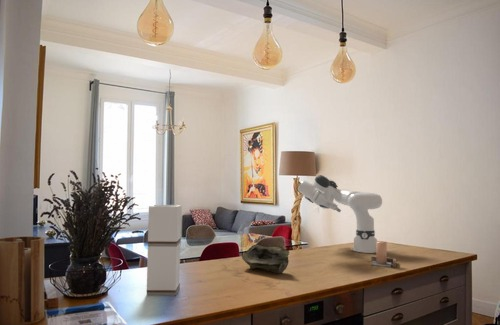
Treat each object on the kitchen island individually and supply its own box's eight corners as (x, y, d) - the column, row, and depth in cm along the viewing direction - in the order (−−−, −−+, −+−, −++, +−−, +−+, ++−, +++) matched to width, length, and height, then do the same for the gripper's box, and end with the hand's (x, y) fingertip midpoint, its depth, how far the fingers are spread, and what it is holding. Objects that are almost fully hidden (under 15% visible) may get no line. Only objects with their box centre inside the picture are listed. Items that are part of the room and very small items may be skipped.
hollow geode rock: (288, 285, 180) (302, 260, 188) (276, 270, 175) (291, 244, 182) (249, 273, 201) (263, 251, 208) (237, 259, 195) (252, 236, 202)
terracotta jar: (376, 262, 213) (376, 240, 213) (386, 262, 211) (386, 241, 211) (376, 263, 208) (375, 242, 208) (386, 264, 205) (386, 242, 206)
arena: (371, 260, 218) (371, 256, 218) (396, 262, 213) (396, 258, 213) (369, 265, 206) (369, 260, 206) (395, 267, 201) (395, 263, 201)
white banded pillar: (179, 287, 158) (181, 205, 160) (175, 295, 147) (177, 206, 149) (152, 287, 157) (154, 204, 159) (146, 295, 147) (148, 206, 149)
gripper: (322, 204, 238) (340, 216, 230) (310, 199, 221) (329, 212, 213) (328, 196, 237) (345, 208, 230) (316, 190, 221) (335, 203, 213)
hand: (337, 210), depth 221 cm, fingers open, 8 cm apart
